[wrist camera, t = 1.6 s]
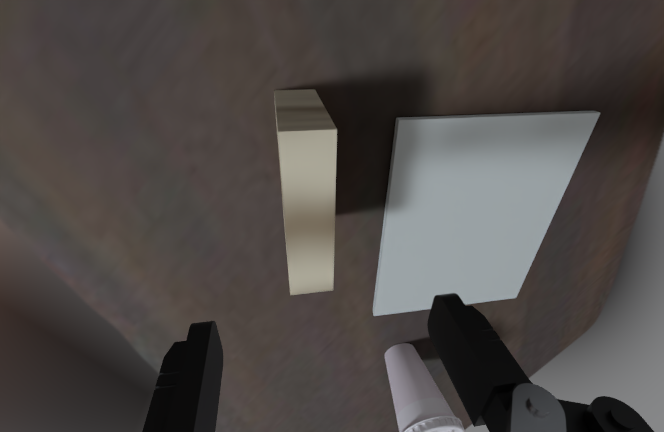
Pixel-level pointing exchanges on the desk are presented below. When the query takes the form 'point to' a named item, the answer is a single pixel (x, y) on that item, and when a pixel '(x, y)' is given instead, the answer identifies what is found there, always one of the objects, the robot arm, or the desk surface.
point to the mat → (472, 203)
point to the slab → (307, 188)
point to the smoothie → (417, 394)
